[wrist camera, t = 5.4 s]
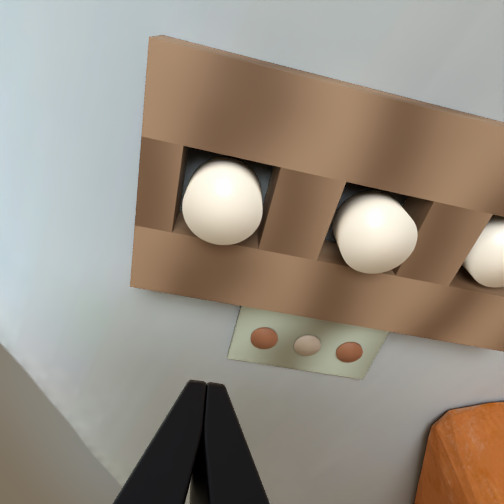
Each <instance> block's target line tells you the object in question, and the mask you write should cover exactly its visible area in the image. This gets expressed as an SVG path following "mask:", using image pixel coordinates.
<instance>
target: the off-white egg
mask: <svg viewBox="0 0 504 504" xmlns="http://www.w3.org/2000/svg"><path fill="white" fill-rule="evenodd" d="M332 228H333V234H334V237H335V239H336V242H337V244H338V247H339V249H340V252H341V254H342V257H343V259H344V260H345V262H346V263H347V264H348V265H349V266H350V267H351V268H353V269H355V270H356V271H359V272H362V273H368V274H376V273H383V272H386V271H389V270H392V269H394V268H396V267H397V266H399V265H400V264H402V263H403V262H404V261H405V260H406V259H407V258H408V257H409V256H410V255H411V253H412V252H413V250H414V248H415V246H416V242H417V237H418V234H417V228H416V225H415V223H414V221H413V220H412V218H411V217H410V216H409V215H408V213H407V212H406V211H405V210H404V209H403V207H402V206H401V205H400V204H399V203H398V201H397V200H396V199H395V198H394V197H393V196H391V195H389V194H387V193H385V192H382V191H365V192H361V193H358V194H356V195H354V196H352V197H350V198H349V199H347V200H346V201H345V202H344V203H343V204H342V205H341V206H340V207H339V209H338V210H337V212H336V214H335V216H334V219H333V226H332Z"/></svg>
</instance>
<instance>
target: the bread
mask: <svg viewBox="0 0 504 504" xmlns="http://www.w3.org/2000/svg"><path fill="white" fill-rule="evenodd" d="M414 504H504V402H496V403H486V404H481V405H475V406H470V407H465V408H459V409H454V410H449V411H448V412H446V413H445V414H444V415H443V416H442V417H441V418H440V419H439V420H437V421H436V422H435V423H434V424H433V425H432V426H431V430H430V434H429V437H428V442H427V446H426V451H425V456H424V460H423V465H422V470H421V474H420V478H419V483H418V488H417V493H416V498H415V503H414Z"/></svg>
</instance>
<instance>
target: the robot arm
mask: <svg viewBox="0 0 504 504" xmlns="http://www.w3.org/2000/svg"><path fill="white" fill-rule="evenodd" d="M190 481H191V485H190ZM189 485H190V504H270V503H269V500H268V498H267V495H266V493H265V490H264V487H263V485H262V482H261V479H260V477H259V474H258V471H257V469H256V466H255V463H254V461H253V458H252V456H251V453H250V450H249V448H248V445H247V442H246V440H245V437H244V434H243V432H242V429H241V426H240V424H239V421H238V419H237V416H236V413H235V411H234V408H233V405H232V403H231V400H230V397H229V395H228V392H227V390H226V387H225V386H224V385H223V384H219V383H212V382H209V383H207V385H206V383H205V382H204V381H197V380H189V381H188V382H187V384H186V386H185V387H184V389H183V390H182V392H181V394H180V395H179V397H178V399H177V400H176V402H175V403H174V405H173V407H172V408H171V410H170V412H169V413H168V415H167V416H166V418H165V420H164V421H163V423H162V425H161V426H160V428H159V429H158V431H157V433H156V434H155V436H154V438H153V439H152V441H151V442H150V444H149V446H148V447H147V449H146V450H145V452H144V454H143V455H142V457H141V459H140V460H139V462H138V463H137V465H136V467H135V468H134V470H133V472H132V473H131V475H130V476H129V478H128V480H127V481H126V483H125V485H124V486H123V488H122V490H121V491H120V493H119V494H118V496H117V498H116V499H115V501H114V503H113V504H185V500H186V496H187V493H188V489H189Z"/></svg>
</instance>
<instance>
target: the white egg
mask: <svg viewBox="0 0 504 504" xmlns="http://www.w3.org/2000/svg"><path fill="white" fill-rule="evenodd" d="M462 265H463V266H464V267H465V269H466V270H467V271H468V272H469V273H470V274H471V275H472V277H473V278H474V279H475V280H476V281H477V282H478V283H480V284H482V285H484V286H487V287H504V217H502V216H498V215H492V217H491V218H490V220H489V222H488V223H487V225H486V226H485V228H484V230H483V231H482V233H481V235H480V236H479V238H478V239H477V241H476V243H475V244H474V246H473V247H472V249H471V251H470V252H469V254H468V256H467V257H466V259H465V260H464V262H463V264H462Z"/></svg>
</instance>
